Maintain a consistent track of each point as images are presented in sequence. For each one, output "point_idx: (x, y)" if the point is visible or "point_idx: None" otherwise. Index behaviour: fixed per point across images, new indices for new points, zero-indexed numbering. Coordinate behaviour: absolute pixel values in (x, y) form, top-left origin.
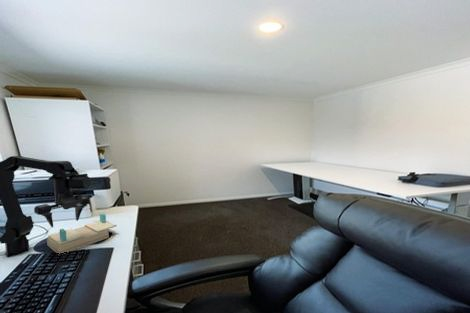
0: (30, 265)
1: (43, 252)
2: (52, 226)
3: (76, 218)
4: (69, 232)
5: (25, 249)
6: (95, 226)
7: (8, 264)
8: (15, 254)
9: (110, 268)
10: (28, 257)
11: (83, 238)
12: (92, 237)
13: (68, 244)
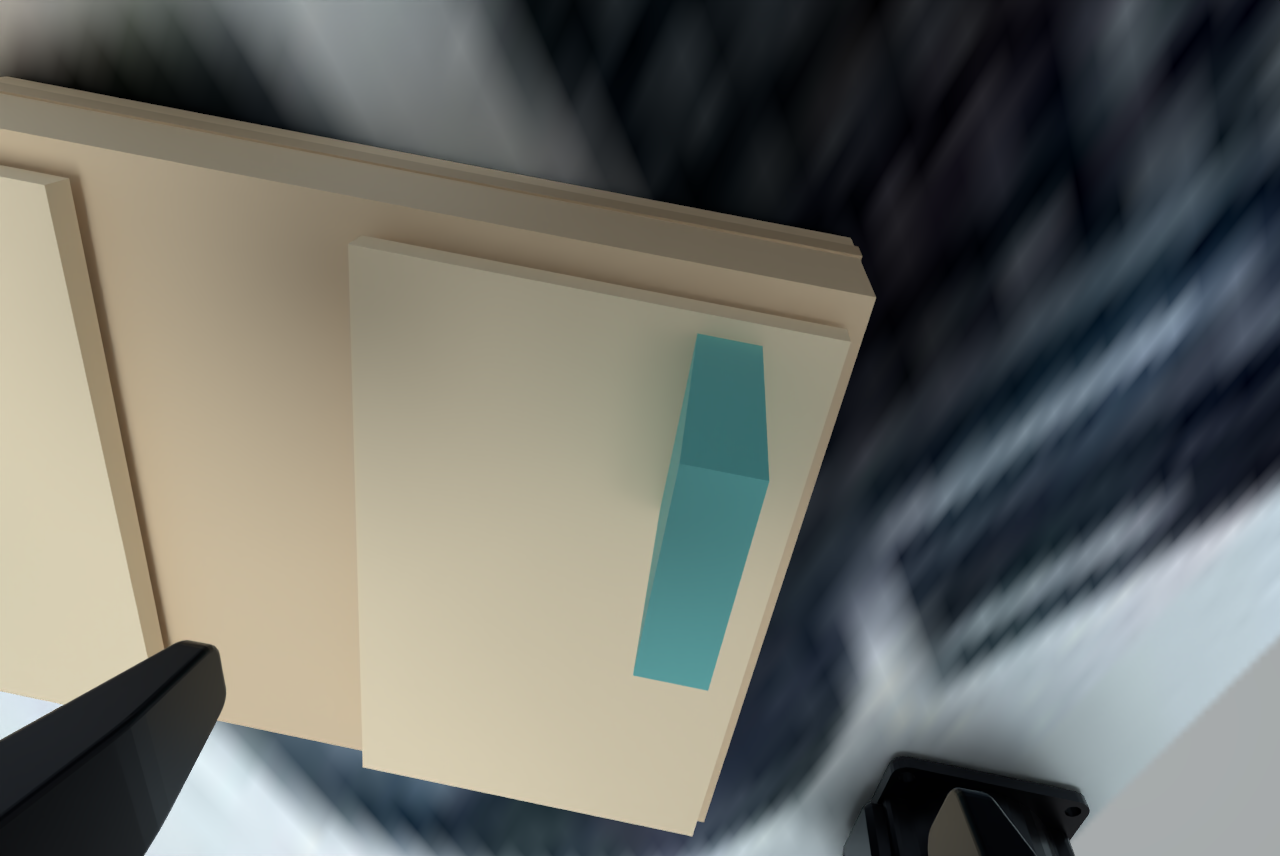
0: (1220, 338)
1: (854, 574)
2: (986, 817)
3: (173, 742)
4: (457, 659)
5: (905, 804)
6: (24, 488)
7: (1229, 640)
8: (1024, 788)
9: None
10: (1019, 607)
11: (397, 202)
12: (237, 157)
13: (697, 253)
